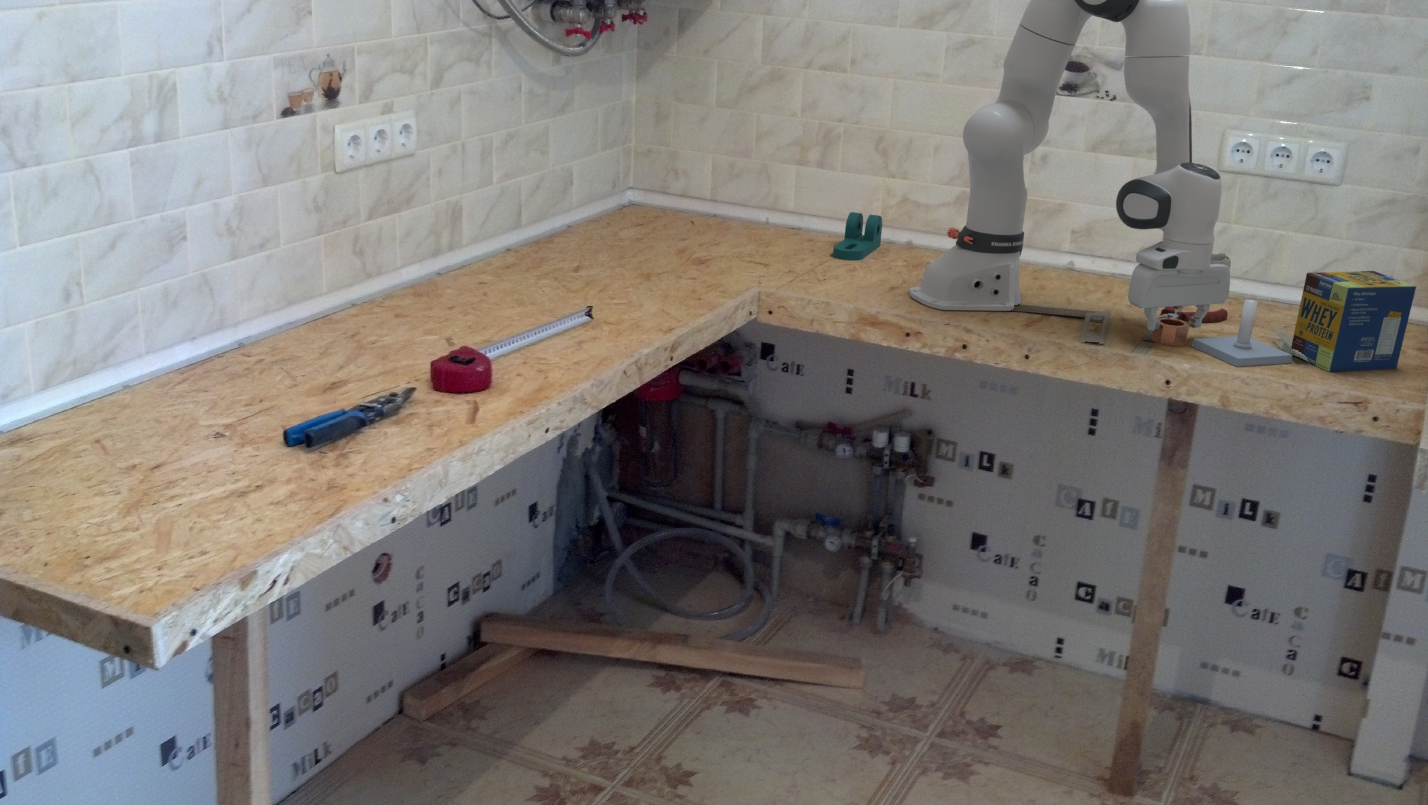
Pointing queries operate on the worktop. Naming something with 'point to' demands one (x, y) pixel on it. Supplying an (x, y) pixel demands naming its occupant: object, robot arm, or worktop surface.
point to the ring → (1171, 332)
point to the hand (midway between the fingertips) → (1173, 328)
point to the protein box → (1352, 320)
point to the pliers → (1184, 316)
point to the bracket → (859, 237)
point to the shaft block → (1243, 344)
